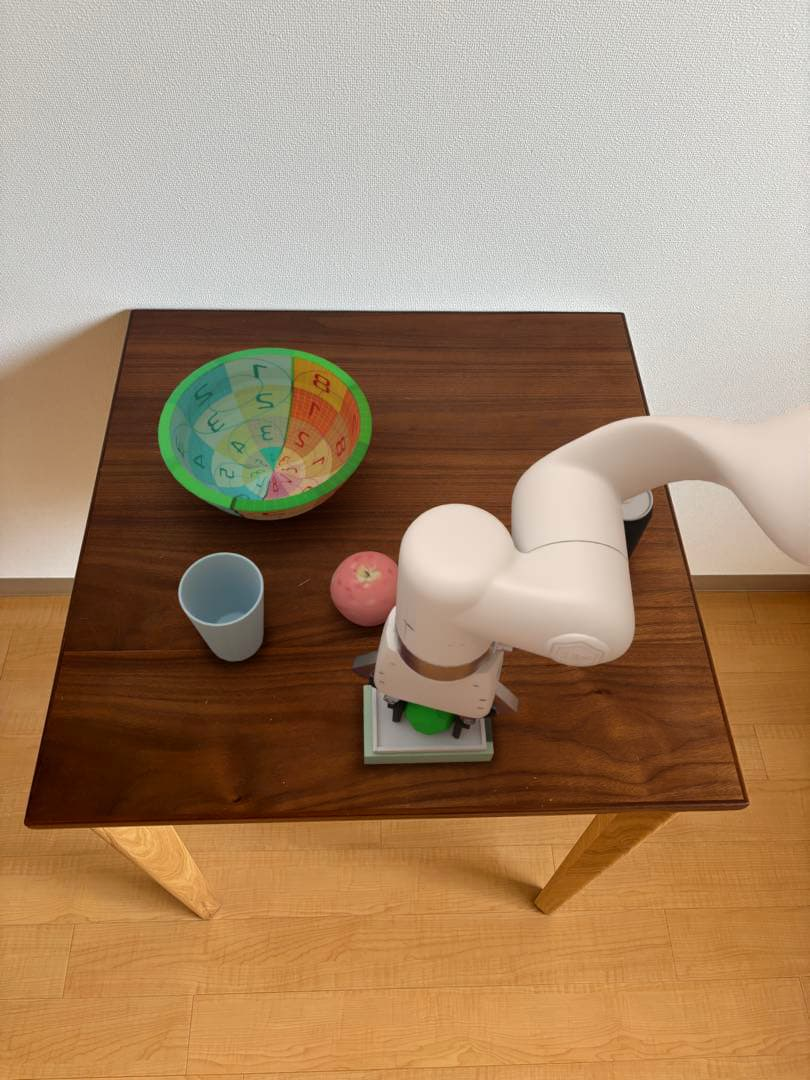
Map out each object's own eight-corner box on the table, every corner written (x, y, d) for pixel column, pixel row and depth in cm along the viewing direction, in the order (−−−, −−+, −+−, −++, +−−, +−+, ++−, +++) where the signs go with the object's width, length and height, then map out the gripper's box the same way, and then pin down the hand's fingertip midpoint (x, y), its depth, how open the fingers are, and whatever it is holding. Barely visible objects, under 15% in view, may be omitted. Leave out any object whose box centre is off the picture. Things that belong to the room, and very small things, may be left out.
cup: (182, 632, 83) (162, 582, 74) (245, 590, 86) (232, 538, 77) (225, 686, 80) (208, 641, 72) (288, 641, 83) (279, 592, 74)
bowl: (233, 384, 102) (221, 323, 93) (400, 439, 98) (403, 381, 89) (138, 522, 90) (115, 466, 82) (323, 590, 87) (318, 540, 78)
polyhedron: (454, 743, 75) (459, 726, 71) (401, 740, 75) (403, 722, 71) (455, 692, 78) (460, 673, 74) (404, 689, 78) (406, 669, 74)
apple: (368, 653, 83) (369, 617, 76) (318, 608, 85) (314, 569, 79) (417, 606, 86) (422, 568, 79) (367, 564, 88) (368, 524, 82)
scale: (484, 691, 81) (488, 677, 78) (490, 761, 77) (495, 749, 74) (363, 694, 81) (363, 680, 77) (364, 764, 77) (364, 752, 74)
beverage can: (628, 585, 88) (662, 524, 78) (568, 583, 88) (594, 521, 78) (620, 534, 92) (652, 469, 82) (562, 532, 92) (587, 467, 82)
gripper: (564, 614, 62) (525, 702, 77) (349, 561, 64) (353, 657, 79) (548, 705, 58) (510, 778, 73) (320, 645, 60) (329, 729, 75)
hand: (429, 714), depth 76 cm, fingers closed on polyhedron, 5 cm apart
